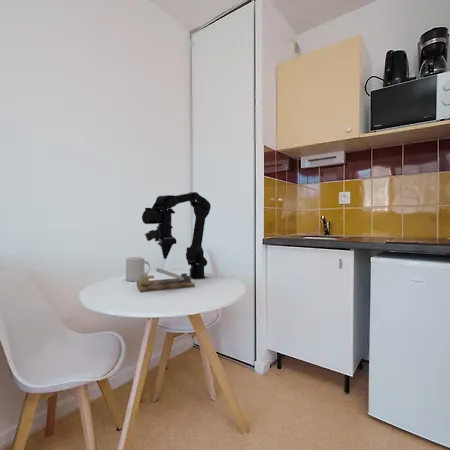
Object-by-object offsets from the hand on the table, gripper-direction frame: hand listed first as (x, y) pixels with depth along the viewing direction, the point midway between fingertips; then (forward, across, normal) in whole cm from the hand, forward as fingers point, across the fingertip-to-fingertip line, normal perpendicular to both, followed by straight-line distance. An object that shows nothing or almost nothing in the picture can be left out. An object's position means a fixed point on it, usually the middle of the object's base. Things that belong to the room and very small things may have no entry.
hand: (165, 258), depth 124 cm
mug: (+12, -18, -10) cm, 24 cm away
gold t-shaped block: (+10, 0, -8) cm, 13 cm away
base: (+12, 0, 0) cm, 12 cm away
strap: (+8, 0, +3) cm, 8 cm away
